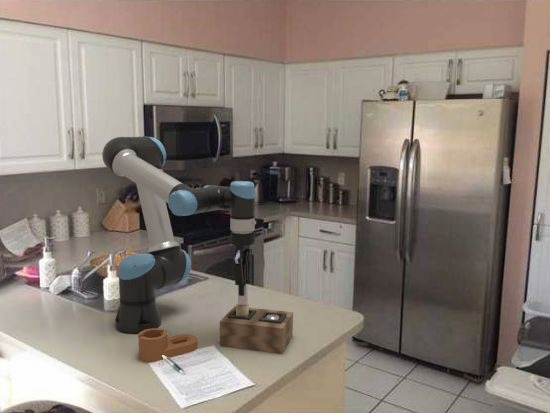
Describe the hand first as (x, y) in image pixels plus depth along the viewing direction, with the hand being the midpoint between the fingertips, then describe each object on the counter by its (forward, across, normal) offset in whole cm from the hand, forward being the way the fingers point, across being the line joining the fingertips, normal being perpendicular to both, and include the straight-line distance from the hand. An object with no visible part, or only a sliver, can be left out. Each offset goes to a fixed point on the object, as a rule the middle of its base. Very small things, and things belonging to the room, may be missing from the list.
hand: (242, 304), depth 158 cm
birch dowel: (+8, 0, 0) cm, 8 cm away
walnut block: (+12, 0, -5) cm, 13 cm away
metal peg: (+11, 0, -10) cm, 15 cm away
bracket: (+12, -15, +18) cm, 27 cm away
